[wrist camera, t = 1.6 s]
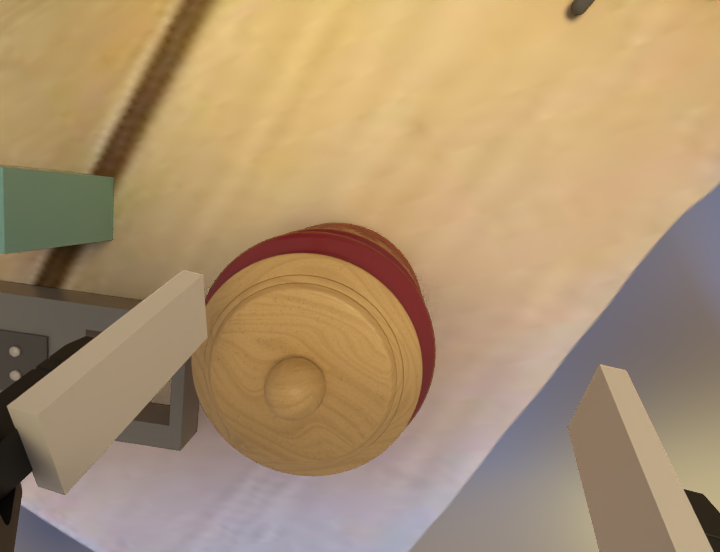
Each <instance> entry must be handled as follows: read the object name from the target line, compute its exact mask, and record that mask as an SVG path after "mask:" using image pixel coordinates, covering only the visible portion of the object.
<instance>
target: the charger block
mask: <svg viewBox="0 0 720 552" xmlns="http://www.w3.org/2000/svg"><path fill="white" fill-rule="evenodd" d="M113 203H114V177H106V176H98V175H90V174H82V173H74V172H66V171H58V170H49V169H39V168H29V167H19V166H9V165H0V253H2V254H8V253H16V252H23V251H31V250H39V249H46V248H54V247H62V246H69V245H77V244H85V243H92V242H100V241H108V240H113Z"/></svg>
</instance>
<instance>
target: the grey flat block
mask: <svg viewBox="0 0 720 552" xmlns="http://www.w3.org/2000/svg"><path fill="white" fill-rule="evenodd" d="M142 301H143V300H136V299H128V298H121V297H114V296H107V295H100V294H92V293H85V292H78V291H71V290H63V289H56V288H49V287H42V286H35V285H27V284H20V283H13V282H6V281H0V393H1V392H2V391H3V390H5V389H6V388H8V387H9V386H10V385H12V384H13V383H14V382H16V381H17V380H18V379H20V378H21V377H22V376H24V375H25V374H27V373H28V372H29V371H31V370H32V369H36V366H37V365H39V364H40V363H42V362H43V361H44V360H46V359H49V357H50V356H51V355H52V354H54V353H55V352H56V351H58V350H59V349H61V348H62V347H63V346H65V345H66V344H68V343H71V342H73V341H75V340H78V339H80V338H82V337H85V336H89V337H92V338H95V337H97V336H98V335H99V334H100V333H102V332H103V331H104V330H106V329H107V328H108V327H109V326H111V325H112V324H113V323H115V322H116V321H117V320H118V319H120V318H121V317H122V316H124V315H125V314H126V313H128V312H129V311H130V310H131V309H133V308H134V307H135V306H137V305H138V304H139V303H140V302H142ZM198 405H199V398H198V395H197V392H196V389H195V385H194V381H193V375H192V365H191V356H190V357H189V359H188V360H187V361H186V362H185V363H184V364H183V365H182V366H181V367H180V369H179V370H178V371H177V372H176V373H175V374H174V375H173V376H172V381H171V401H170V406H168V405H162V404H155V403H148V404H147V405H146V406H145V407H144V408H143V409H142V411H141V412H140V413H139V414H138V415H137V416H136V417H135V418H134V419H133V421H132V422H131V423H130V424H129V425H128V426H127V427H126V428H125V429H124V430H123V432H122V433H121V434H120V435H119V436H118V437H117V438H116V439H115V441H121V442H127V443H134V444H140V445H147V446H153V447H160V448H166V449H172V450H179V451H180V450H181V449H182V448H183V447H184V446H185V445H186V443H187V442H188V441H189V440H190V439H191V438H192V436H193V435H194V434H195V433H196V432H197V421H198Z"/></svg>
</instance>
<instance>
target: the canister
mask: <svg viewBox="0 0 720 552" xmlns="http://www.w3.org/2000/svg"><path fill="white" fill-rule="evenodd" d="M205 309H206V324H207V339H206V340H205V341H204V342H203V343H202V344H201V345H200V346H199V347H198V349H197V350H196V351H195V352H194V353H193V354H192V355H191V365H192V375H193V381H194V385H195V389H196V392H197V395H198V398H199V401H200V403H201V405H202V407H203V409H204V411H205V413H206V415H207V417H208V418H209V420H210V422H211V423H212V424H213V426H214V427H215V428H216V430H217V431H218V432H219V433H220V434H221V436H222V437H223V438H224V439H225V440H226V441H227V442H228V443H229V444H231V445H232V446H233V447H234V448H235V449H237V450H238V451H239V452H240V453H242V454H243V455H245V456H246V457H248V458H250V459H251V460H253V461H255V462H257V463H259V464H261V465H263V466H266V467H268V468H271V469H273V470H277V471H280V472H284V473H288V474H294V475H302V476H323V475H331V474H336V473H341V472H344V471H348V470H351V469H354V468H356V467H358V466H361V465H363V464H365V463H367V462H369V461H370V460H372V459H374V458H375V457H377V456H378V455H379V454H381V453H382V452H383V451H385V450H386V449H387V448H388V447H389V446H390V445H391V444H392V443H393V442H394V441H395V440H396V439H397V438H398V437H399V435H400V434H401V433H402V432H403V430H404V429H405V428H406V427H407V425H408V424H409V423H410V422H411V421H412V419H413V418H414V417H415V415H416V414H417V412H418V411H419V409H420V408H421V406H422V404H423V402H424V400H425V398H426V396H427V394H428V391H429V388H430V385H431V382H432V378H433V373H434V368H435V352H436V348H435V337H434V331H433V326H432V322H431V319H430V316H429V313H428V310H427V308H426V305H425V302H424V299H423V297H422V294H421V290H420V286H419V283H418V280H417V278H416V276H415V273H414V271H413V269H412V267H411V265H410V264H409V262H408V261H407V259H406V258H405V257H404V255H403V254H402V253H401V252H400V251H399V250H398V249H397V248H396V247H395V246H394V245H393V244H392V243H391V242H390V241H388V240H387V239H385V238H384V237H382V236H381V235H379V234H377V233H375V232H373V231H371V230H369V229H366V228H364V227H360V226H357V225H352V224H346V223H326V224H320V225H315V226H311V227H308V228H305V229H302V230H298V231H294V232H290V233H287V234H284V235H280V236H277V237H273V238H271V239H268V240H265V241H263V242H261V243H258V244H257V245H255V246H253V247H251V248H249V249H248V250H246V251H245V252H243V253H242V254H240V255H239V256H238V257H237V258H235V259H234V260H233V261H232V262H231V263H230V264H229V265H228V266H227V267H226V268H225V269H224V270H223V271H222V272H221V274H220V275H219V276H218V278H217V279H216V280H215V282H214V284H213V285H212V287H211V288H210V290H209V292H208V294H207V296H206V298H205Z"/></svg>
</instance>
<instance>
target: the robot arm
mask: <svg viewBox="0 0 720 552" xmlns="http://www.w3.org/2000/svg"><path fill="white" fill-rule="evenodd" d="M206 339H207V324H206V309H205V294H204V279H203V274H200V273H196V272H192V271H187V270H182V271H180V272H179V273H178V274H177V275H175V276H174V277H173V278H171V279H170V280H169V281H167V282H166V283H165V284H164V285H162V286H161V287H160V288H158V289H157V290H156V291H155V292H153V293H152V294H151V295H149V296H148V297H147V298H146V299H144V300H143V301H142V302H140V303H139V304H138V305H137V306H135V307H134V308H133V309H131V310H130V311H129V312H128V313H126V314H125V315H124V316H122V317H121V318H120V319H118V320H117V321H116V322H115V323H113V324H112V325H111V326H109V327H108V328H107V329H106V330H104V331H103V332H102V333H100V334H99V335H98V336H97V337H95V338H92V337H89V336H85V337H82V338H80V339H78V340H75V341H73V342H71V343H68V344H66V345H65V346H63V347H62V348H61V349H59V350H58V351H56V352H55V353H54V354H52V355H51V356H50V357H49V359H46V360H44V361H43V362H42V363H40V364H39V365H37V366H36V369H32V370H31V371H29V372H28V373H27V374H25V375H24V376H22V377H21V378H20V379H18V380H17V381H16V382H14V383H13V384H12V385H10V386H9V387H8V388H6V389H5V390H3V391H2V392H1V393H0V552H14V546H15V539H16V532H17V525H18V518H19V511H20V504H21V498H22V487H21V483H20V482H21V481H22V480H23V479H24V478H25V477H26V476H27V475H28V474H29V473H30V472H31V471H32V472H33V475H34V477H35V480H36V483H37V485H38V487H41V488H45V489H48V490H51V491H54V492H57V493H60V494H63V495H66V494H67V492H68V491H69V490H70V489H71V488H72V487H73V486H74V485H75V484H76V482H77V481H78V480H79V479H80V478H81V477H82V476H83V475H84V474H85V473H86V471H87V470H88V469H89V468H90V467H91V466H92V465H93V464H94V463H95V461H96V460H97V459H98V458H99V457H100V456H101V455H102V454H103V453H104V452H105V450H106V449H107V448H108V447H109V446H110V445H111V444H112V443H113V442H114V440H115V439H116V438H117V437H118V436H119V435H120V434H121V433H122V432H123V430H124V429H125V428H126V427H127V426H128V425H129V424H130V423H131V422H132V421H133V419H134V418H135V417H136V416H137V415H138V414H139V413H140V412H141V411H142V409H143V408H144V407H145V406H146V405H147V404H148V403H149V402H150V401H151V399H152V398H153V397H154V396H155V395H156V394H157V393H158V392H159V391H160V390H161V388H162V387H163V386H164V385H165V384H166V383H167V382H168V381H169V380H170V378H171V377H172V376H173V375H174V374H175V373H176V372H177V371H178V370H179V369H180V367H181V366H182V365H183V364H184V363H185V362H186V361H187V360H188V359H189V357H190V356H191V355H192V354H193V353H194V352H195V351H196V350H197V349H198V347H199V346H200V345H201V344H202V343H203V342H204V341H205V340H206ZM568 430H569V434H570V438H571V442H572V446H573V450H574V454H575V458H576V462H577V465H578V470H579V473H580V477H581V481H582V485H583V489H584V493H585V497H586V501H587V504H588V508H589V512H590V516H591V520H592V524H593V528H594V532H595V535H596V540H597V544H598V548H599V551H600V552H720V513H719V512H718V510H717V509H716V508H715V507H714V506H713V505H712V504H711V503H710V501H709V500H708V499H707V498H706V497H705V496H704V495H703V494H700V493H697V492H693V491H689V490H685V489H683V487H682V485H681V483H680V481H679V479H678V477H677V475H676V473H675V471H674V469H673V467H672V465H671V462H670V460H669V458H668V456H667V455H666V452H665V450H664V448H663V446H662V444H661V442H660V440H659V438H658V435H657V433H656V431H655V429H654V427H653V425H652V423H651V421H650V419H649V417H648V415H647V413H646V411H645V409H644V406H643V404H642V402H641V400H640V398H639V396H638V394H637V392H636V390H635V388H634V386H633V384H632V382H631V379H630V377H629V375H628V373H627V371H626V370H622V369H618V368H613V367H609V366H605V365H601V364H600V365H599V366H598V368H597V370H596V372H595V374H594V376H593V378H592V380H591V382H590V384H589V386H588V388H587V390H586V392H585V394H584V396H583V398H582V400H581V402H580V404H579V406H578V408H577V410H576V412H575V414H574V416H573V418H572V420H571V421H570V424H569V425H568Z"/></svg>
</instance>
